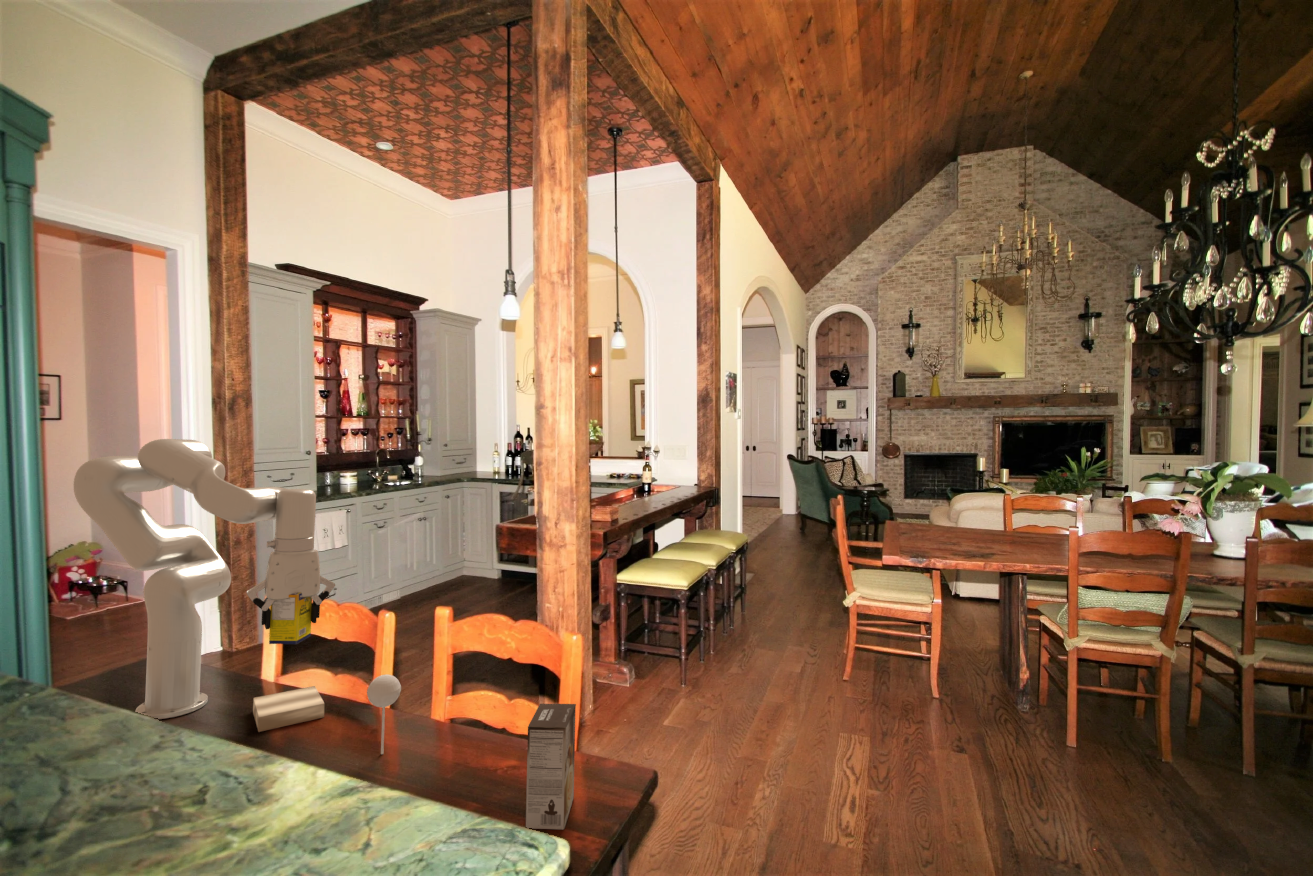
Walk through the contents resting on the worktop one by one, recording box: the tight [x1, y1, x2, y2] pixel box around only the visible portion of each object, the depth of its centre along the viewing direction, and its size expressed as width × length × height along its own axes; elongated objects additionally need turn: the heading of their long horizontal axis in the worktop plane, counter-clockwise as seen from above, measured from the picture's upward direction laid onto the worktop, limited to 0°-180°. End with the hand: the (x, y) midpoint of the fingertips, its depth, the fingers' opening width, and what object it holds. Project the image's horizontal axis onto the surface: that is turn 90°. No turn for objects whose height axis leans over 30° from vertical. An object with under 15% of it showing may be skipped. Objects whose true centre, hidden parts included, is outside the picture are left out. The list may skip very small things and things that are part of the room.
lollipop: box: [366, 674, 402, 755], centre depth 117 cm, size 6×6×15 cm
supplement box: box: [268, 593, 313, 645], centre depth 134 cm, size 6×6×11 cm
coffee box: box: [525, 703, 577, 830], centre depth 100 cm, size 9×6×16 cm
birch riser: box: [252, 685, 325, 733], centre depth 133 cm, size 12×12×3 cm
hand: (290, 624), depth 134 cm, fingers closed on supplement box, 8 cm apart
